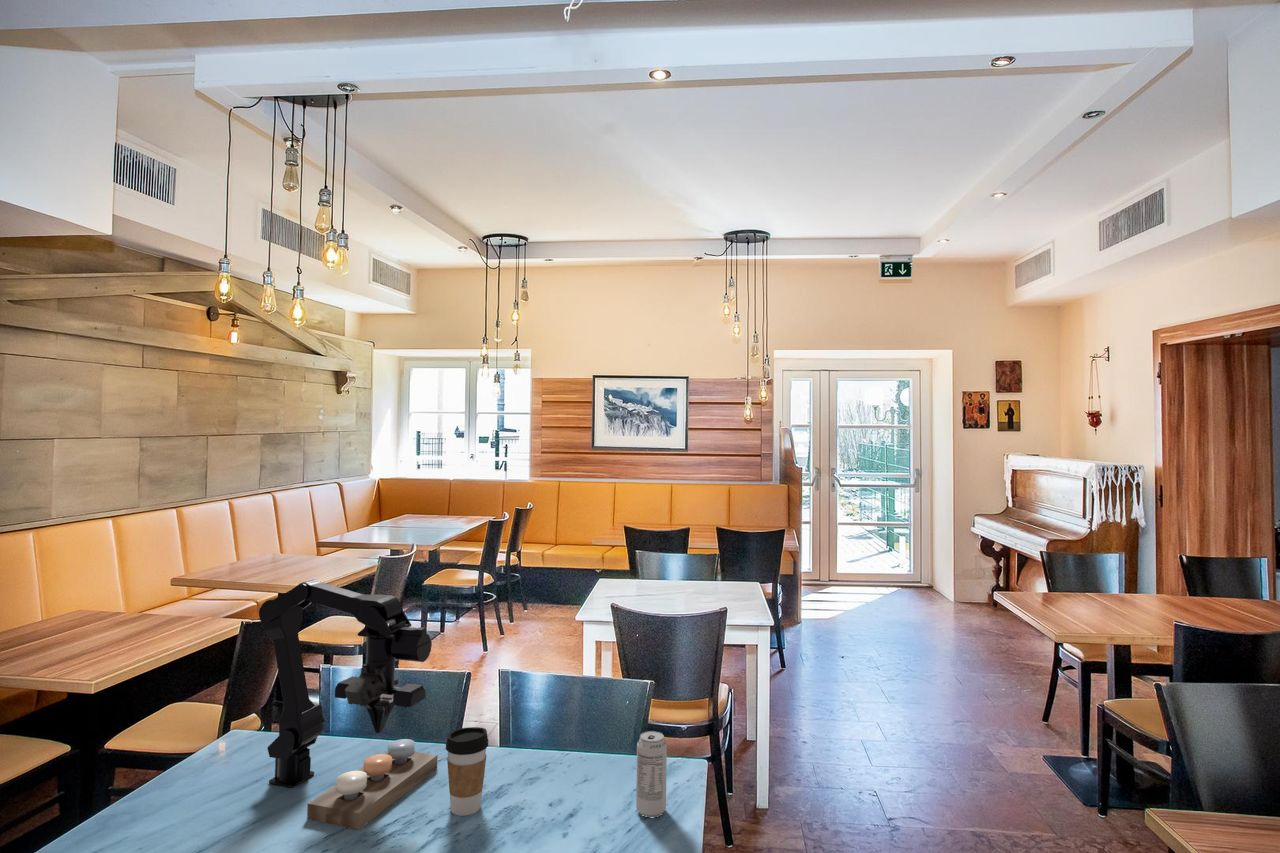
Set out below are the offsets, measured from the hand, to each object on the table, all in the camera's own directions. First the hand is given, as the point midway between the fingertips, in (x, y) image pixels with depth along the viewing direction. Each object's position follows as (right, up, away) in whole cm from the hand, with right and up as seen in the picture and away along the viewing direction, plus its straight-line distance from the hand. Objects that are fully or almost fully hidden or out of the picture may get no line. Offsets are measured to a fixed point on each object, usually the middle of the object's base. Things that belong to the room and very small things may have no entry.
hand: (378, 732), depth 143 cm
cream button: (-2, -10, -8) cm, 13 cm away
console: (0, -12, -1) cm, 12 cm away
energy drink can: (+57, -13, -7) cm, 59 cm away
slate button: (+2, -11, +7) cm, 13 cm away
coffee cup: (+20, -13, -7) cm, 24 cm away
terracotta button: (0, -11, -1) cm, 11 cm away
